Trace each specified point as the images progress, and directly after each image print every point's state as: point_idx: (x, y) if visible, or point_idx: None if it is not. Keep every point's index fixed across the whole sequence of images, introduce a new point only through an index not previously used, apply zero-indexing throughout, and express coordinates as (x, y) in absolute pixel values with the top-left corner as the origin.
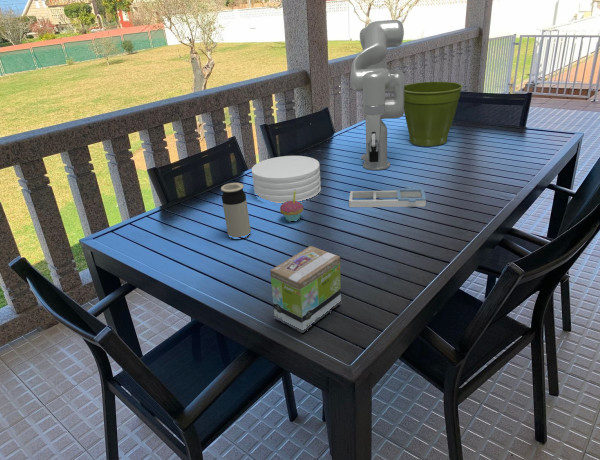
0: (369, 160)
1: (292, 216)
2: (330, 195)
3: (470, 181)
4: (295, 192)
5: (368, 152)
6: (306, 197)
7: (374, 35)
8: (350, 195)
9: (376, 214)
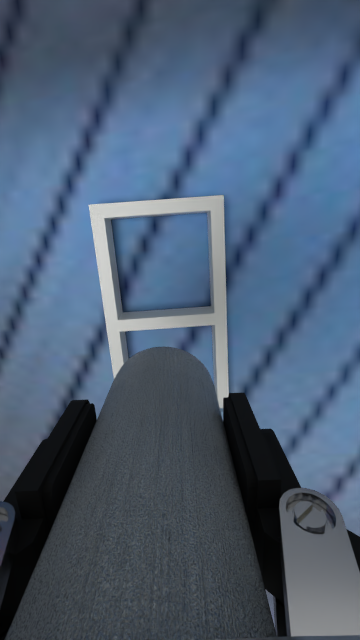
0: (68, 406)
1: None
2: (242, 78)
3: None
4: None
5: (102, 444)
6: None
7: None
8: (164, 202)
9: (42, 330)
